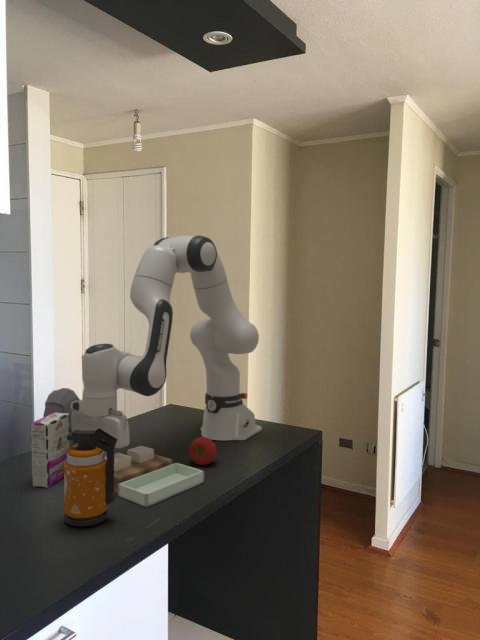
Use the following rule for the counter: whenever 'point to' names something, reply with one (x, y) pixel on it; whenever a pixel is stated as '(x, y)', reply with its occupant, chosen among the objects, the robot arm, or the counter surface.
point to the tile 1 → (121, 461)
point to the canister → (89, 477)
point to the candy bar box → (49, 449)
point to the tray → (160, 484)
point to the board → (139, 469)
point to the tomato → (202, 451)
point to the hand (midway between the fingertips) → (100, 457)
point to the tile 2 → (140, 454)
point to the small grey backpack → (61, 405)
